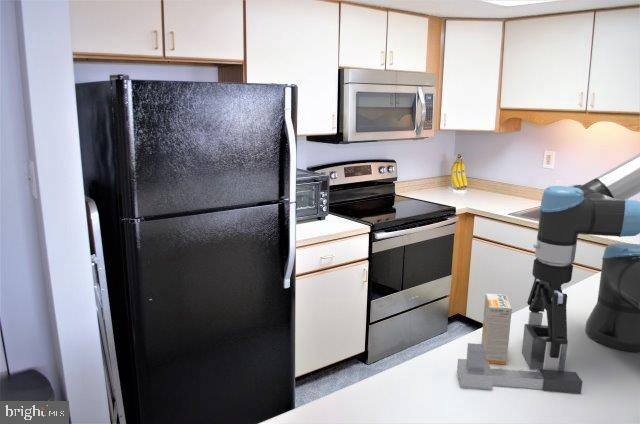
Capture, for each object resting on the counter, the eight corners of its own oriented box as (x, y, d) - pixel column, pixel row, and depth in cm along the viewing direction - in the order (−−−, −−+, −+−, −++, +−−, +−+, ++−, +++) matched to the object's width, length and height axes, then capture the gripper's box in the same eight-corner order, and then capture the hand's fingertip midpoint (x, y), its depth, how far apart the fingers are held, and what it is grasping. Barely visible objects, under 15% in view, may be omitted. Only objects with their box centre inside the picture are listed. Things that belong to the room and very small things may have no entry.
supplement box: (507, 365, 111) (513, 308, 108) (484, 363, 112) (489, 306, 109) (502, 347, 118) (507, 294, 116) (480, 345, 119) (485, 292, 117)
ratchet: (572, 380, 105) (576, 347, 103) (583, 397, 99) (587, 362, 97) (456, 371, 108) (459, 339, 106) (460, 387, 102) (463, 353, 100)
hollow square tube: (554, 355, 115) (557, 326, 114) (564, 371, 108) (568, 340, 107) (521, 352, 116) (524, 324, 114) (529, 368, 109) (533, 338, 108)
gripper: (520, 242, 120) (510, 327, 124) (552, 280, 95) (538, 382, 100) (554, 244, 119) (542, 329, 123) (595, 283, 95) (579, 386, 99)
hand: (541, 353), depth 112 cm, fingers open, 13 cm apart
